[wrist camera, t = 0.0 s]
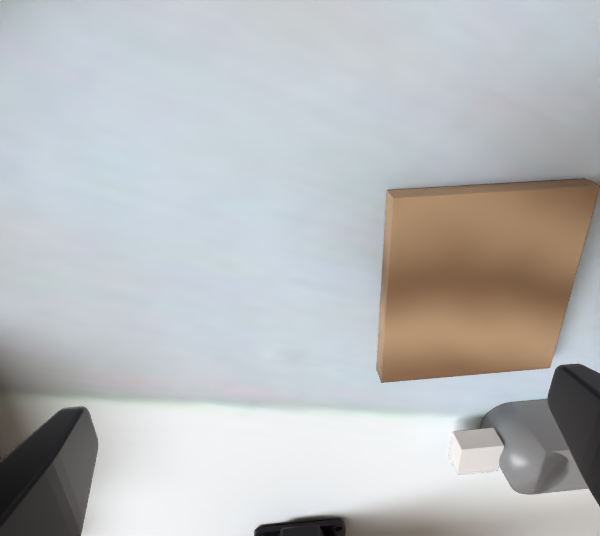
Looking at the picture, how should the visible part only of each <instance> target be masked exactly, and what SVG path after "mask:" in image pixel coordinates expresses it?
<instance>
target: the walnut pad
mask: <svg viewBox="0 0 600 536" xmlns="http://www.w3.org/2000/svg"><path fill="white" fill-rule="evenodd" d="M599 188H600V186H599V185H597V184H595V183H593V182H591V181H589V180H586V179H567V180H550V181H533V182H516V183H499V184H482V185H465V186H448V187H431V188H414V189H397V190H387V197H386V214H385V231H384V248H383V265H382V282H381V300H380V317H379V334H378V351H377V368H376V369H377V372H378V375H379V377H380V380H381V383H384V382H396V381H407V380H419V379H430V378H441V377H453V376H464V375H476V374H487V373H499V372H510V371H522V370H533V369H545V368H550V366H551V362H552V359H553V355H554V351H555V348H556V344H557V341H558V337H559V333H560V330H561V326H562V322H563V319H564V315H565V312H566V308H567V304H568V301H569V297H570V293H571V290H572V286H573V282H574V279H575V275H576V272H577V268H578V264H579V261H580V257H581V253H582V250H583V246H584V243H585V239H586V235H587V232H588V228H589V224H590V221H591V217H592V214H593V210H594V206H595V203H596V199H597V195H598V192H599Z"/></svg>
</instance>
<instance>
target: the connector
mask: <svg viewBox="0 0 600 536" xmlns="http://www.w3.org/2000/svg"><path fill="white" fill-rule="evenodd" d="M547 400H548V399H540V400H529V401H518V402H509V403H504V404H501V405H499V406H497V407H495V408H493V409H492V410H490V411H489V412H488V413H487V414H486V415H485V416H484V418H483V419H482V421H481V424H480V429H475V430H465V431H454V432H453V433H452V439H451V445H450V451H449V459H450V461H451V463H452V465H453V467H454V470H455V472H456V474H457V475H463V474H473V473H482V472H492V471H498V469H499V466H500V468H501V470H502V472H503V473H504V475H505V477H506V479H507V481H508V482H509V484H510V486H511V487H512V489H513V490H515V491H516V492H518V493H521V494H540V493H550V492H559V491H568V490H578V489H587V488H588V486H587V484H586V483H585V481H584V479H583V477H582V475H581V473H580V471H579V469H578V467H577V465H576V463H575V461H574V459H573V457H572V455H571V453H570V451H569V449H568V447H567V445H566V443H565V441H564V438H563V436H562V434H561V432H560V430H559V428H558V426H557V424H556V422H555V420H554V418H553V416H552V414H551V412H550V409H549V406H548V401H547Z"/></svg>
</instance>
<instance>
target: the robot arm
mask: <svg viewBox="0 0 600 536" xmlns="http://www.w3.org/2000/svg"><path fill="white" fill-rule="evenodd" d="M547 401H548V406H549V409H550V412H551V414H552V416H553V418H554V420H555V422H556V424H557V426H558V428H559V430H560V432H561V434H562V436H563V438H564V441H565V443H566V445H567V447H568V449H569V451H570V453H571V455H572V457H573V459H574V461H575V463H576V465H577V467H578V469H579V471H580V473H581V475H582V477H583V479H584V481H585V483H586V484H587V486H588V488H589V489H590V491H591V493H592V495H593V496H594V498H595V500H596V501H597V503H598V504H599V506H600V373H598V372H596V371H594V370H592V369H590V368H588V367H586V366H584V365H581V364H568V365H560V366H558V367H557V368H556V369H555V372H554V375H553V379H552V382H551V386H550V389H549V393H548V400H547ZM97 451H98V439H97V435H96V432H95V429H94V426H93V423H92V420H91V416H90V413H89V411H88V409H87V408H86V407H82V406H81V407H70V408H63V409H61V410H60V411H58V412H57V413H56V414H55V415H54V416H52V417H51V418H50V419H49V420H48V421H47V422H45V423H44V424H43V425H42V426H41V427H40V428H39V429H37V430H36V431H35V432H34V433H33V434H32V435H30V436H29V437H28V438H27V439H26V440H25V441H23V442H22V443H21V444H20V445H19V446H18V447H16V448H15V449H14V450H13V451H12V452H11V453H10V454H8V455H7V456H6V457H5V458H4V459H3V460H1V461H0V536H81V532H82V528H83V523H84V518H85V513H86V508H87V503H88V498H89V493H90V488H91V482H92V477H93V472H94V467H95V462H96V457H97ZM254 536H345V523H344V521H343V520H341V519H334V520H325V521H315V522H306V523H297V524H287V525H278V526H268V527H260V528H257V529H256V530H255V531H254Z"/></svg>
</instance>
